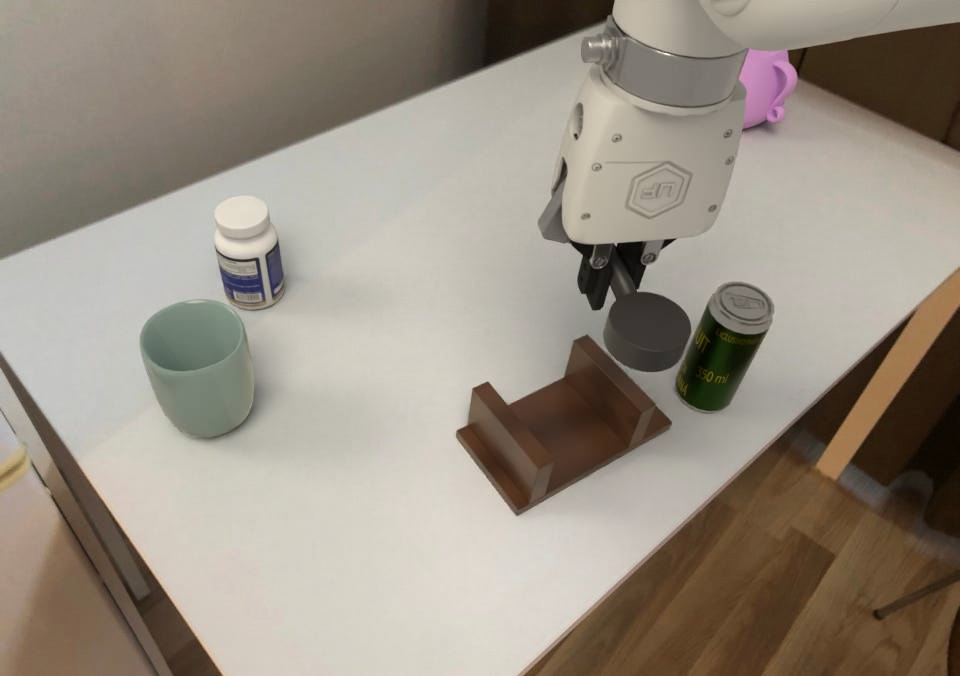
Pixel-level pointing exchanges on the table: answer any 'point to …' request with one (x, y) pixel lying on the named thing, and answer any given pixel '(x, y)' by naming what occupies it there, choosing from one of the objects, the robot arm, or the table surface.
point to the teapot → (766, 85)
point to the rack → (559, 428)
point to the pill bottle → (248, 253)
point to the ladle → (643, 324)
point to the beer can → (724, 346)
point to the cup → (199, 366)
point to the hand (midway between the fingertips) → (604, 294)
